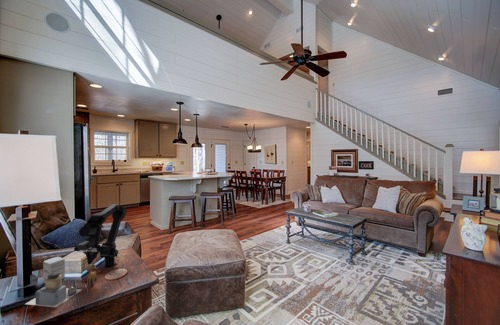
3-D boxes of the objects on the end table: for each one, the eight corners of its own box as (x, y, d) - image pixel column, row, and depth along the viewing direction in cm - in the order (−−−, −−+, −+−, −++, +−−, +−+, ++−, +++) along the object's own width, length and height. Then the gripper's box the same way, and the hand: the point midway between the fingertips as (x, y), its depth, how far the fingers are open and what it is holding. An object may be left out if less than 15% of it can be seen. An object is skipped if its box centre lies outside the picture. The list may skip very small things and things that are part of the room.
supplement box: (42, 282, 125) (42, 261, 125) (58, 276, 132) (58, 255, 132) (49, 286, 122) (49, 263, 122) (65, 279, 129) (65, 258, 129)
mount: (53, 289, 120) (53, 274, 119) (82, 291, 118) (82, 277, 118) (24, 306, 106) (24, 290, 105) (56, 309, 104) (56, 293, 104)
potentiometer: (68, 293, 115) (68, 286, 115) (76, 291, 116) (77, 284, 117) (66, 296, 111) (67, 289, 112) (75, 294, 113) (76, 287, 114)
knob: (53, 295, 112) (53, 271, 112) (62, 296, 111) (62, 272, 111) (44, 301, 108) (44, 276, 107) (53, 302, 107) (53, 277, 107)
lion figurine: (85, 279, 130) (85, 264, 130) (96, 276, 133) (96, 261, 133) (86, 291, 118) (86, 275, 118) (98, 288, 121) (98, 272, 121)
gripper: (68, 236, 124) (61, 266, 120) (98, 236, 122) (93, 267, 118) (84, 235, 135) (79, 263, 131) (112, 235, 133) (108, 263, 128)
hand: (89, 264), depth 127 cm, fingers closed
